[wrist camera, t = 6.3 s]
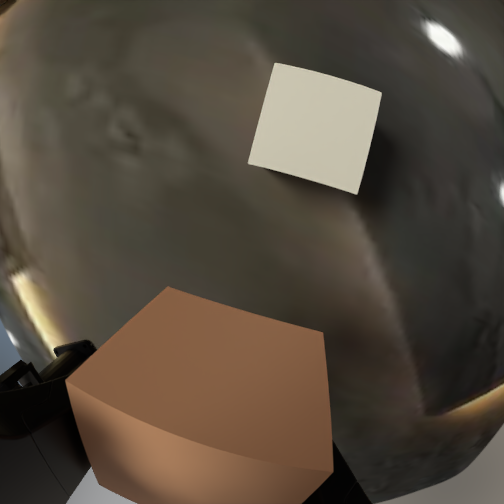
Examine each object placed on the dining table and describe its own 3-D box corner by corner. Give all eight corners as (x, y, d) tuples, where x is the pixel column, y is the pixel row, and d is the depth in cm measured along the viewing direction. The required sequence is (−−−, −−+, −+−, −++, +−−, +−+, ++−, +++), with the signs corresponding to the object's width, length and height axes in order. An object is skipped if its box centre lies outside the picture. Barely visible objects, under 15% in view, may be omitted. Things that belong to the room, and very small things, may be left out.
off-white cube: (341, 189, 17) (357, 194, 12) (262, 166, 17) (247, 163, 12) (360, 113, 15) (381, 92, 11) (281, 91, 16) (274, 62, 11)
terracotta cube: (276, 431, 10) (258, 539, 5) (157, 393, 10) (99, 484, 6) (322, 332, 8) (333, 471, 4) (167, 286, 9) (64, 380, 4)
